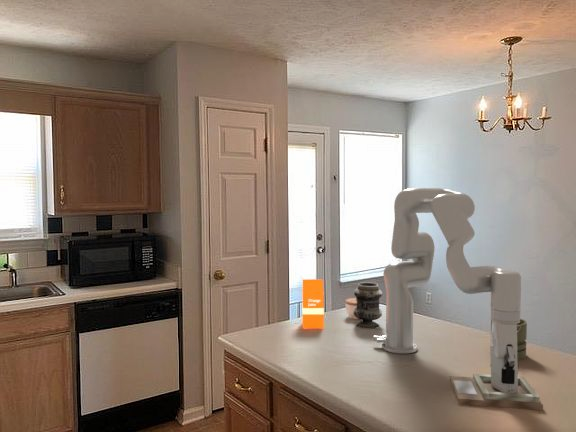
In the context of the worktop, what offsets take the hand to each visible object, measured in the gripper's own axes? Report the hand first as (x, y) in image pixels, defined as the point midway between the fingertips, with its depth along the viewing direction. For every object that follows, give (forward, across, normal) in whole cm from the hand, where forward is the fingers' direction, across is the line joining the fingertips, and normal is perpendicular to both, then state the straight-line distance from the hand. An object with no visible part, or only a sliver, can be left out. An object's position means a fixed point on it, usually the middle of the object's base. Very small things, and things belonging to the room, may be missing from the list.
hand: (503, 377), depth 134 cm
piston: (+5, -36, +10) cm, 38 cm away
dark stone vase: (+6, -64, -39) cm, 75 cm away
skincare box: (+4, 0, 0) cm, 4 cm away
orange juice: (+6, -60, -62) cm, 86 cm away
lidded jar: (+6, -77, -44) cm, 89 cm away
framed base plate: (+5, 0, -3) cm, 6 cm away
